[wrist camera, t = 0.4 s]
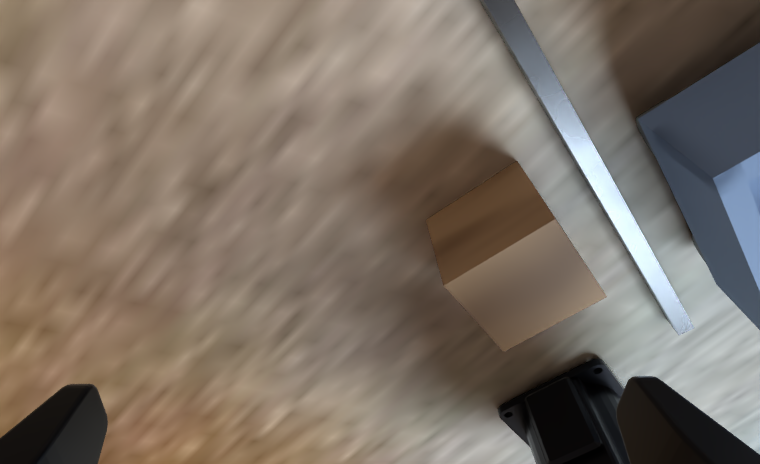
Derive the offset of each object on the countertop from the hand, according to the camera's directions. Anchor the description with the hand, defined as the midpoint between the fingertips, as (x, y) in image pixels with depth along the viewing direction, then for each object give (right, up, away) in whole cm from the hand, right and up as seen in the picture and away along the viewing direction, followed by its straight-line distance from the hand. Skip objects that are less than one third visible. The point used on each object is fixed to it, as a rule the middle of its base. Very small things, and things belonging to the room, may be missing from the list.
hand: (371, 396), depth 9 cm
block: (+5, +3, +14) cm, 15 cm away
